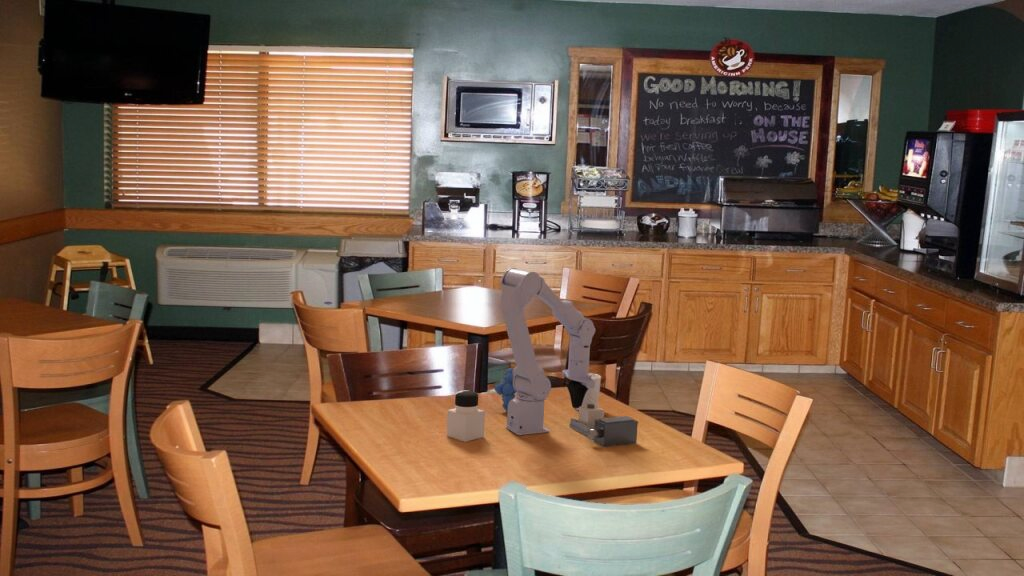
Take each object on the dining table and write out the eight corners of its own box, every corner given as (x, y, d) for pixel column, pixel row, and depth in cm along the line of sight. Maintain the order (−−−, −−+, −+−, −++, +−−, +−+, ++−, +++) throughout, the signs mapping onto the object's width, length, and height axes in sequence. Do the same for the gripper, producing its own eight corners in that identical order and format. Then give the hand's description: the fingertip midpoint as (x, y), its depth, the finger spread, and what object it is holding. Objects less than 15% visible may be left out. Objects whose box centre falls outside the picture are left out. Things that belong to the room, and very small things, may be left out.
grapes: (495, 403, 287) (497, 363, 285) (518, 404, 287) (520, 365, 285) (491, 413, 276) (493, 372, 274) (515, 415, 275) (517, 374, 273)
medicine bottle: (484, 437, 253) (486, 392, 251) (465, 442, 248) (466, 396, 246) (465, 431, 258) (467, 387, 256) (445, 436, 253) (447, 391, 251)
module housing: (593, 448, 247) (595, 424, 246) (557, 428, 264) (558, 405, 263) (636, 443, 253) (637, 419, 252) (598, 423, 270) (599, 401, 269)
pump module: (587, 429, 260) (588, 408, 260) (577, 424, 265) (578, 403, 264) (603, 427, 263) (604, 406, 262) (593, 422, 267) (594, 401, 266)
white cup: (589, 414, 280) (591, 380, 278) (567, 408, 284) (568, 375, 283) (604, 409, 286) (606, 375, 285) (581, 404, 291) (583, 371, 289)
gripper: (605, 364, 264) (602, 412, 266) (578, 353, 277) (575, 399, 279) (582, 366, 261) (580, 415, 263) (556, 355, 273) (554, 402, 275)
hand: (576, 407), depth 270 cm, fingers closed
